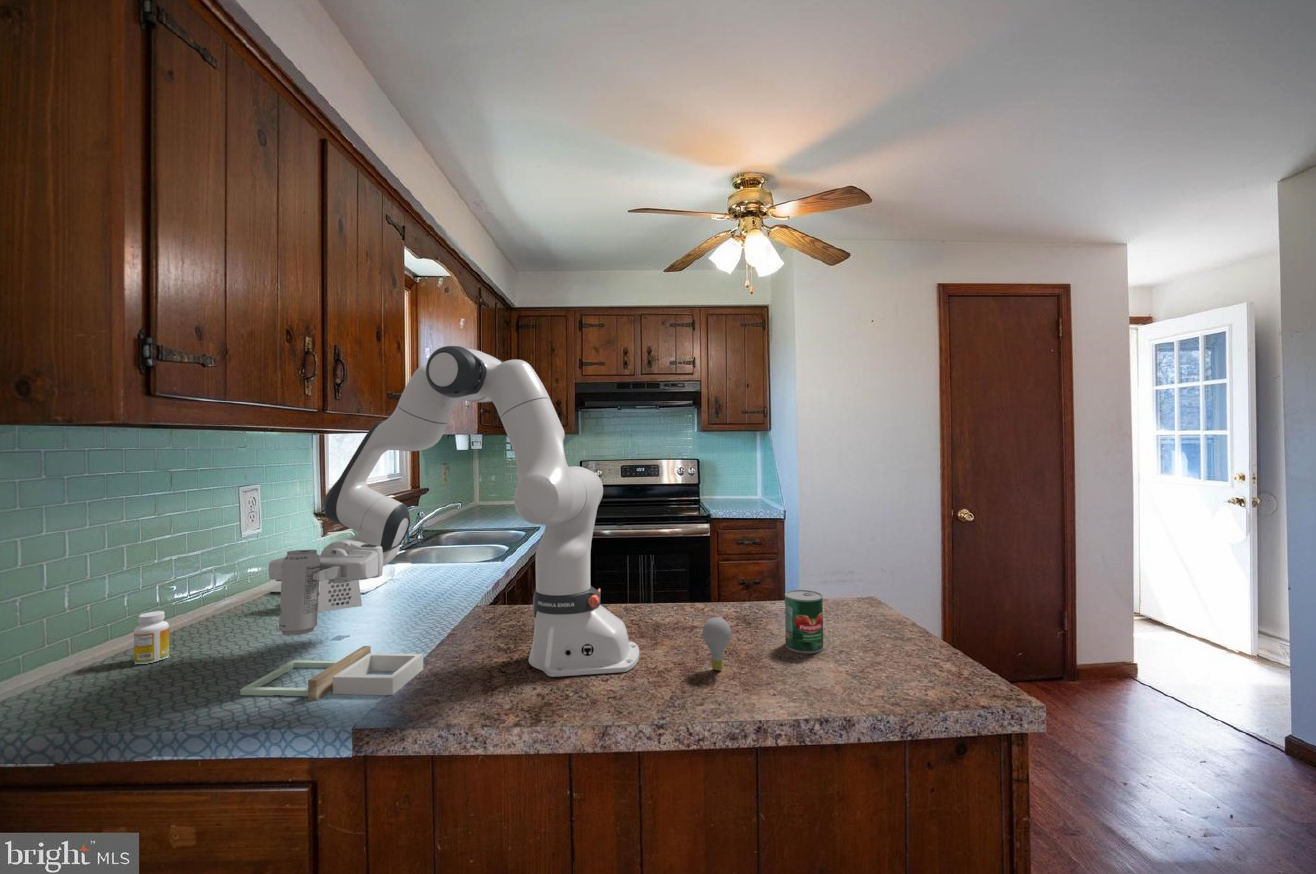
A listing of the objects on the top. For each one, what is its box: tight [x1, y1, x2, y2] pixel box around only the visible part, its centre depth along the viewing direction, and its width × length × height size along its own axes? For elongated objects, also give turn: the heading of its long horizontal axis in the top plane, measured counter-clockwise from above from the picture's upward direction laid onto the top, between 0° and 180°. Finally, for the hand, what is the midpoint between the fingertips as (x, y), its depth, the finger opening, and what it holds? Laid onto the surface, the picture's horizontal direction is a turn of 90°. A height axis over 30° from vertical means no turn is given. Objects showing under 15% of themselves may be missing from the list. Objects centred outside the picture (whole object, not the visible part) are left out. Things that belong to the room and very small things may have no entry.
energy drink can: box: [278, 549, 320, 636], centre depth 104 cm, size 6×6×15 cm
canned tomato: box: [784, 589, 825, 654], centre depth 118 cm, size 8×8×11 cm
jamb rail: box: [307, 645, 372, 701], centre depth 104 cm, size 2×16×4 cm, turn 176°
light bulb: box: [702, 617, 732, 672], centre depth 106 cm, size 6×6×10 cm
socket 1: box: [239, 659, 339, 697], centre depth 104 cm, size 13×13×1 cm
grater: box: [318, 530, 363, 613], centre depth 154 cm, size 10×10×20 cm
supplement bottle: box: [133, 610, 170, 665], centre depth 115 cm, size 5×5×10 cm
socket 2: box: [332, 652, 424, 696], centre depth 103 cm, size 11×11×3 cm
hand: (297, 577), depth 103 cm, fingers closed on energy drink can, 6 cm apart
